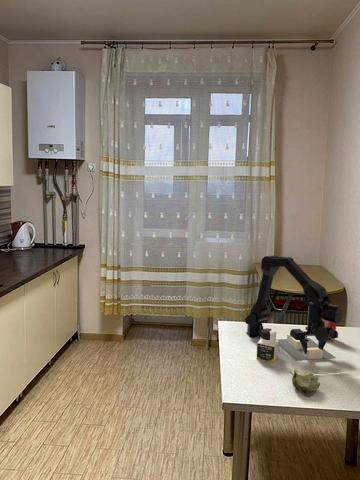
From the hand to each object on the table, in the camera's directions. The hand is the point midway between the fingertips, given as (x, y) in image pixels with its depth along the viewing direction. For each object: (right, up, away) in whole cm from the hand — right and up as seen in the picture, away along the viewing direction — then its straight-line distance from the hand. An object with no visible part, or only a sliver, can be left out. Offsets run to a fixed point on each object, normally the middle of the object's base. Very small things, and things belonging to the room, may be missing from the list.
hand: (312, 353), depth 172 cm
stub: (0, -1, 0) cm, 1 cm away
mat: (-2, -1, +8) cm, 9 cm away
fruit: (-12, -5, -27) cm, 30 cm away
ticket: (-2, 0, +13) cm, 13 cm away
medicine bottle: (-19, -2, -1) cm, 19 cm away
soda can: (+13, +1, +21) cm, 25 cm away
